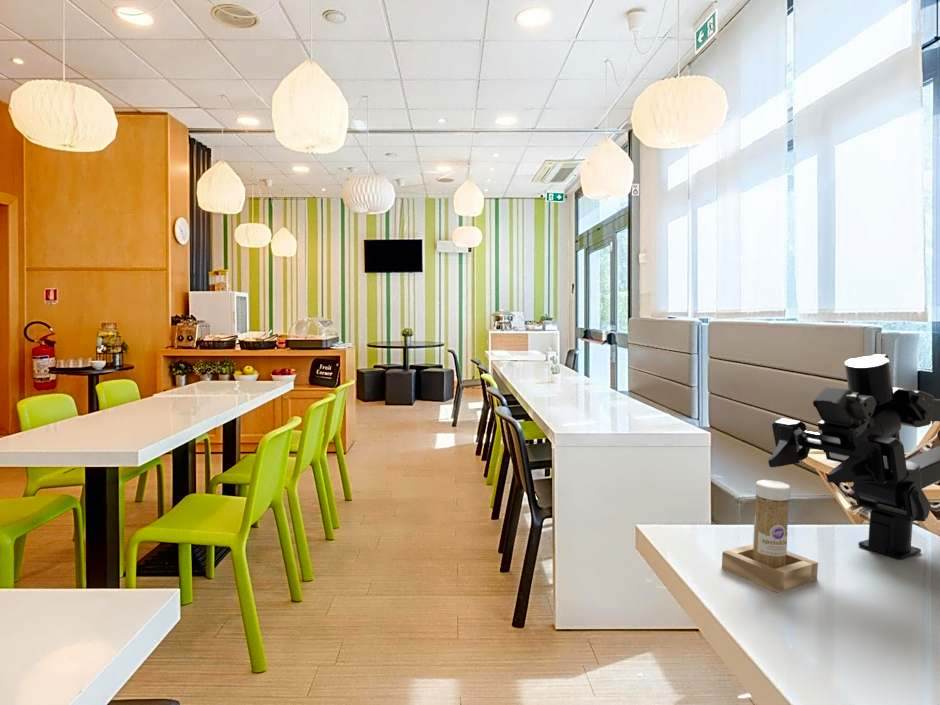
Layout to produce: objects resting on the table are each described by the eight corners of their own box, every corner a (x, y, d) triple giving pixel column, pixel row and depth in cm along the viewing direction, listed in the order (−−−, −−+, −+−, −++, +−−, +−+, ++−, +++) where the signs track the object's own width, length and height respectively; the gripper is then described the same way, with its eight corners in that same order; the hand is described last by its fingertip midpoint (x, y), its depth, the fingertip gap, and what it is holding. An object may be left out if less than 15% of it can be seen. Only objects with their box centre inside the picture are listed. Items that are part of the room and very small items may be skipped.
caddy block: (761, 557, 98) (762, 541, 98) (817, 579, 90) (818, 562, 90) (721, 568, 94) (722, 551, 93) (776, 592, 86) (777, 574, 86)
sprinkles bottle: (767, 582, 89) (772, 488, 88) (744, 569, 93) (748, 480, 92) (793, 578, 90) (798, 486, 89) (769, 565, 95) (774, 477, 94)
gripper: (799, 374, 103) (733, 409, 97) (923, 387, 86) (853, 431, 80) (810, 437, 105) (747, 475, 99) (933, 461, 89) (866, 509, 82)
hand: (797, 471), depth 90 cm, fingers open, 9 cm apart
